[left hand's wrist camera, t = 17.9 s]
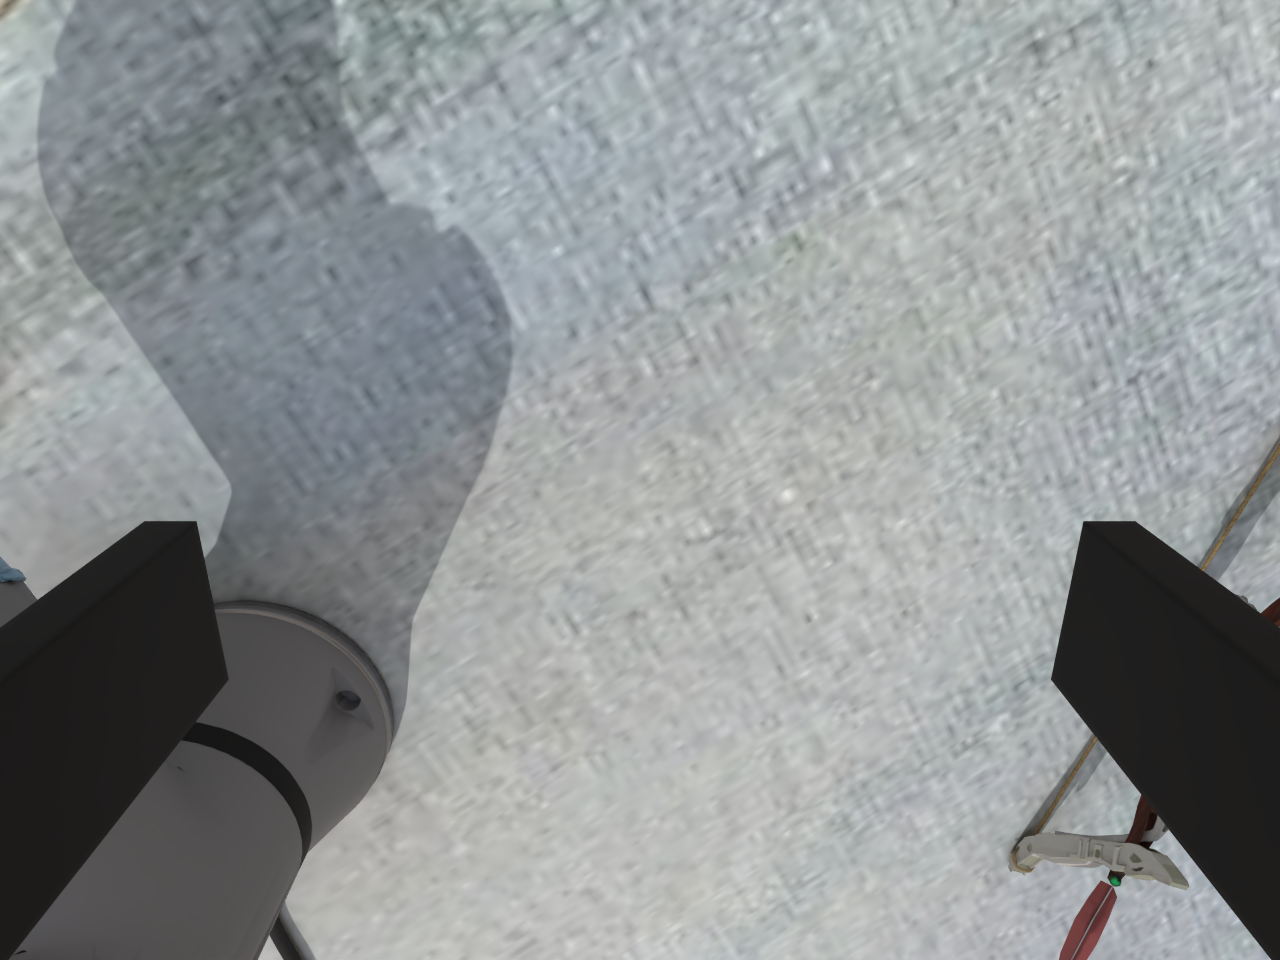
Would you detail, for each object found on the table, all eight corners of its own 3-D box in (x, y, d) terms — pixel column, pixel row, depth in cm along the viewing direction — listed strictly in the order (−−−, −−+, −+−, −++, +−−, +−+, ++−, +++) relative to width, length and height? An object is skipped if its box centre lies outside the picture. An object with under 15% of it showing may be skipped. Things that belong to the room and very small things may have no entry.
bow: (1330, 331, 42) (1524, 381, 33) (1361, 342, 43) (1563, 394, 33) (985, 885, 56) (1054, 1033, 46) (1010, 892, 56) (1084, 1040, 46)
